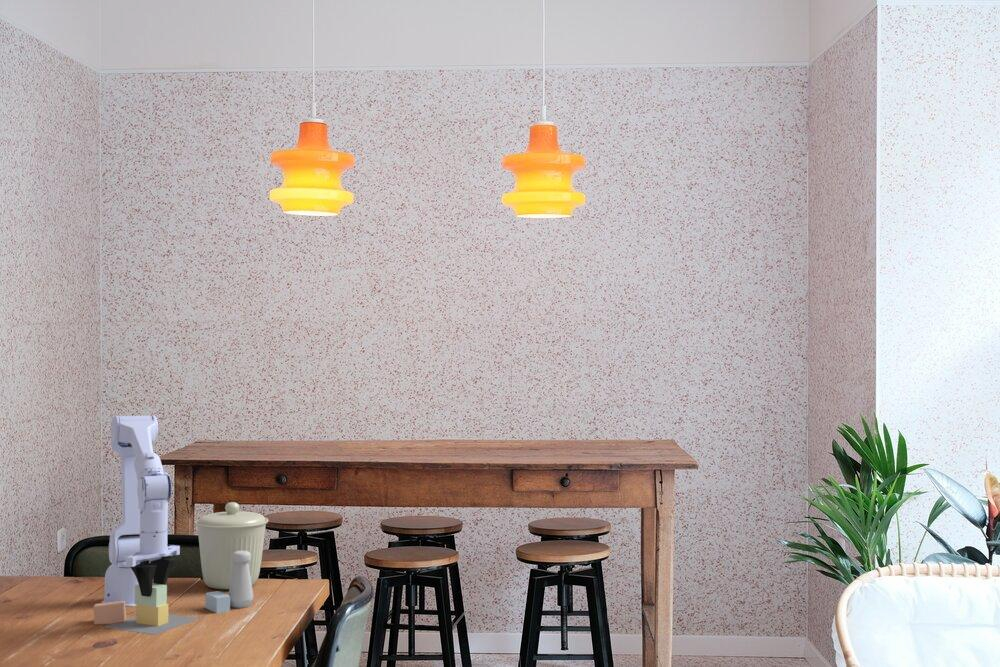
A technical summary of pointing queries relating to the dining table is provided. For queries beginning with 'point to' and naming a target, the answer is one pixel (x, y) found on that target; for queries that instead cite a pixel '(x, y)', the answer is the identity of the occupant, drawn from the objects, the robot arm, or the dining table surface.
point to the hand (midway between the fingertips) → (152, 593)
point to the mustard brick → (152, 614)
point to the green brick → (152, 596)
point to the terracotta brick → (109, 612)
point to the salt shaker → (241, 581)
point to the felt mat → (151, 629)
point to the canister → (229, 543)
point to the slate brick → (217, 602)
